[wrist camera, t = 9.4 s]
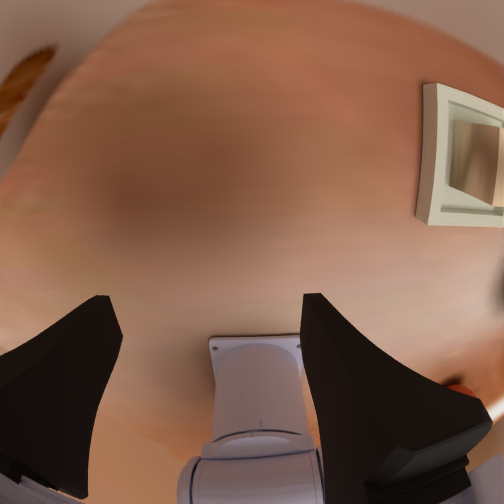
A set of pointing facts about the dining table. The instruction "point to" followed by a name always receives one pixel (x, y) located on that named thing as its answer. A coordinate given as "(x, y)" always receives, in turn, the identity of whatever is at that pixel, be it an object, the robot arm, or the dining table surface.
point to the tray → (440, 156)
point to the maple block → (478, 161)
